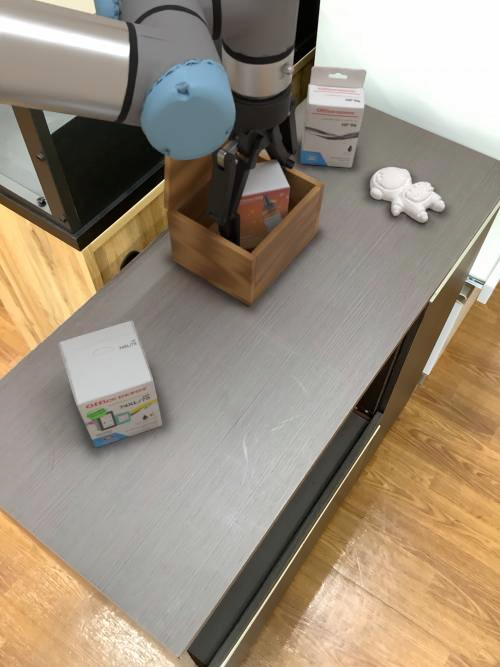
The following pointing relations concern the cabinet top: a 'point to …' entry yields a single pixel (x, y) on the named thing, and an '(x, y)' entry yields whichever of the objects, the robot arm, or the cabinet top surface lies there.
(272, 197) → the small box
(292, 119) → the robot arm
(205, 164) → the lid
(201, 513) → the cabinet top surface
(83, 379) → the ink box
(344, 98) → the ink box
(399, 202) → the astronaut figurine
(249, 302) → the chest
